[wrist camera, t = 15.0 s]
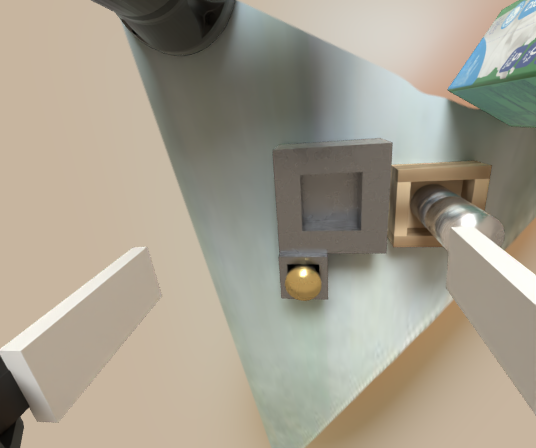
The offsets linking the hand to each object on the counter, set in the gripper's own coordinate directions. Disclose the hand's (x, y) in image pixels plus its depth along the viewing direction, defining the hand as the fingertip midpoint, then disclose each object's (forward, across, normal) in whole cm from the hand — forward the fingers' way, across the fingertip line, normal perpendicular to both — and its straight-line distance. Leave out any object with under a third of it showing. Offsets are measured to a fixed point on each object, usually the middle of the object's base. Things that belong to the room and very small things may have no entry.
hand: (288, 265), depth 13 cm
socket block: (+30, +2, -8) cm, 31 cm away
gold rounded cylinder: (+27, -2, -14) cm, 30 cm away
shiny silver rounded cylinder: (+29, +15, -7) cm, 34 cm away
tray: (+30, +15, -7) cm, 34 cm away
